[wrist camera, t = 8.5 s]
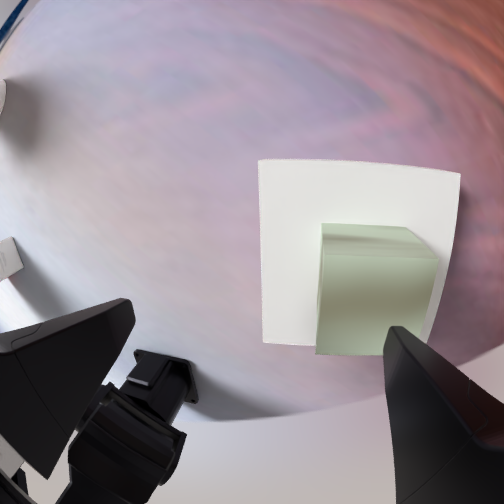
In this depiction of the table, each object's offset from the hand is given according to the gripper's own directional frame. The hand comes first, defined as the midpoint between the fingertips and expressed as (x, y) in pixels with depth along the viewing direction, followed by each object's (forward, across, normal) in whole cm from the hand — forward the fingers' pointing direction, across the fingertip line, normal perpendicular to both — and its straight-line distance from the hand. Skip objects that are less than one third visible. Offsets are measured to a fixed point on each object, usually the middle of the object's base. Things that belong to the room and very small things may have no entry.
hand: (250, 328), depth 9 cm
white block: (+11, -5, +1) cm, 12 cm away
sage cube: (+8, -5, +1) cm, 10 cm away
